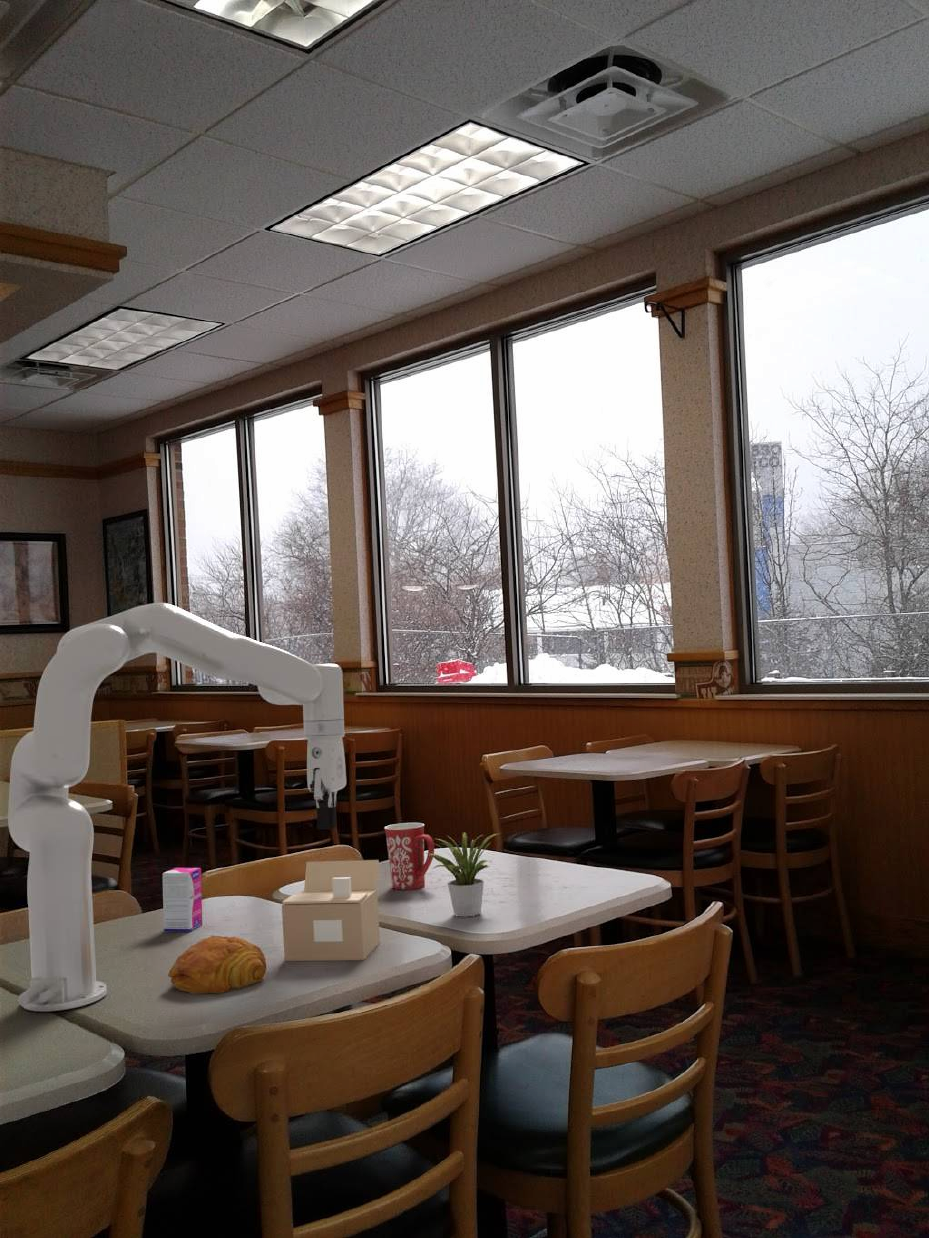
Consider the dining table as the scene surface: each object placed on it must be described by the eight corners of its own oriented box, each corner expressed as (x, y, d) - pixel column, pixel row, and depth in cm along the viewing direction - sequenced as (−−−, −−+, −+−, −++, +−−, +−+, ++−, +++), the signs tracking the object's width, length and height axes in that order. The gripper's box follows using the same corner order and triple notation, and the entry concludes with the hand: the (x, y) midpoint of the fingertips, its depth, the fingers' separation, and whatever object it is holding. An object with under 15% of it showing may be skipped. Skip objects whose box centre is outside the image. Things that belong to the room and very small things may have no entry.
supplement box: (191, 932, 212) (188, 872, 212) (163, 932, 213) (160, 873, 213) (204, 924, 217) (201, 866, 218) (176, 924, 218) (173, 867, 219)
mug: (379, 888, 242) (375, 827, 242) (408, 880, 248) (405, 821, 249) (418, 894, 233) (414, 831, 234) (448, 886, 240) (444, 824, 240)
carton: (363, 960, 184) (360, 903, 185) (284, 960, 187) (281, 904, 187) (379, 942, 195) (376, 889, 196) (304, 943, 198) (302, 890, 198)
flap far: (378, 859, 199) (383, 864, 202) (306, 861, 201) (312, 866, 204) (376, 888, 196) (381, 893, 199) (304, 890, 198) (310, 894, 202)
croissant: (225, 977, 187) (219, 930, 188) (283, 977, 177) (277, 927, 178) (152, 998, 176) (146, 948, 177) (210, 1000, 166) (204, 946, 167)
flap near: (292, 897, 192) (291, 876, 192) (367, 895, 190) (366, 874, 190) (282, 904, 187) (281, 882, 187) (359, 902, 185) (357, 881, 185)
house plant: (482, 900, 224) (477, 820, 224) (521, 911, 212) (516, 827, 213) (422, 912, 216) (417, 830, 217) (459, 925, 205) (454, 837, 205)
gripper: (331, 731, 196) (334, 834, 195) (354, 727, 211) (357, 822, 210) (291, 732, 197) (294, 835, 196) (316, 728, 212) (319, 823, 211)
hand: (327, 828), depth 203 cm, fingers closed
